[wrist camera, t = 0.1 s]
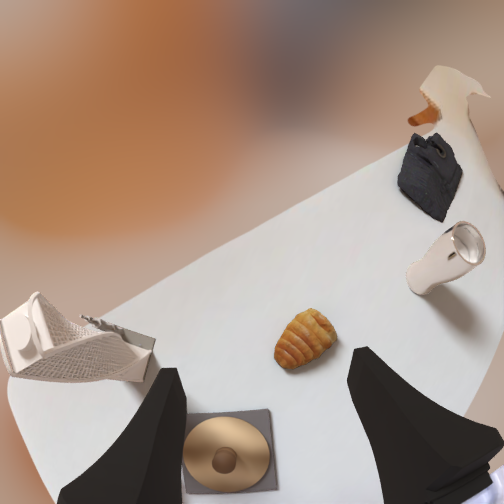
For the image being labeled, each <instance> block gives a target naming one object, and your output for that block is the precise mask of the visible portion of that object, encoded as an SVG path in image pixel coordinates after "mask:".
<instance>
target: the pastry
mask: <svg viewBox="0 0 504 504" xmlns="http://www.w3.org/2000/svg"><path fill="white" fill-rule="evenodd" d="M336 340H337V334H336V331H335V329H334V327H333V326H332V324H331V323H330V322H329V320H328V319H327V318H326V317H325V316H323V315H322V314H321V313H320V312H319V311H317V310H315V309H312V308H310V309H308V310H306V311H305V312H301V313H299V314H298V315H297V316H296V317H295V318H294V319H293V320H292V321H291V322H290V323H289V324H288V325H287V327H286V329H285V330H284V332H283V334H282V336H281V337H280V339H279V340H278V342H277V344H276V346H275V352H274V359H275V360H276V362H277V363H278V364H279V365H280V366H281V367H283V368H287V369H295V368H297V367H299V366H302V365H305V364H307V363H309V362H310V361H311V360H313V359H317V358H319V357H320V356H321V354H322V353H323V352H324V351H325V350H326V349H328V348H330V347H331V345H332V343H333V342H335V341H336Z"/></svg>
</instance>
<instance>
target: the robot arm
mask: <svg viewBox="0 0 504 504" xmlns="http://www.w3.org/2000/svg"><path fill="white" fill-rule="evenodd" d="M347 383H348V387H349V391H350V394H351V398H352V401H353V404H354V406H355V408H356V411H357V413H358V415H359V418H360V420H361V422H362V425H363V427H364V429H365V432H366V434H367V437H368V439H369V441H370V444H371V447H372V450H373V454H374V457H375V461H376V465H377V469H378V473H379V478H380V482H381V488H382V493H383V499H384V504H504V465H503V466H501V467H500V468H498V469H497V470H495V471H494V472H493V473H492V474H490V475H489V473H488V470H489V469H490V466H489V464H488V462H489V461H490V460H491V459H492V458H493V457H494V456H495V455H496V454H497V453H498V452H499V451H500V450H501V449H502V448H503V446H504V440H503V439H502V437H501V436H500V434H499V432H498V430H497V429H496V428H493V427H490V426H486V425H483V424H480V423H476V422H474V421H471V420H469V419H466V418H464V417H462V416H460V415H457V414H455V413H453V412H451V411H449V410H447V409H446V408H444V407H442V406H440V405H439V404H437V403H435V402H434V401H432V400H431V399H429V398H427V397H426V396H425V395H423V394H422V393H420V392H419V391H418V390H416V389H415V388H414V387H412V386H411V385H410V384H409V383H407V382H406V381H405V380H404V379H403V378H402V377H400V376H399V375H398V374H397V373H396V372H395V371H394V370H392V369H391V368H390V367H389V366H388V365H387V364H386V363H385V362H384V361H383V360H382V359H381V358H379V357H378V356H377V355H376V354H375V353H374V352H373V351H372V350H371V349H370V348H369V347H368V346H367V347H362V348H356V349H354V352H353V356H352V361H351V365H350V369H349V373H348V378H347ZM186 418H187V402H186V395H185V392H184V389H183V386H182V383H181V380H180V377H179V374H178V371H177V368H161V369H160V371H159V373H158V375H157V377H156V379H155V381H154V383H153V385H152V386H151V388H150V390H149V392H148V394H147V396H146V397H145V399H144V401H143V402H142V404H141V406H140V407H139V409H138V411H137V412H136V414H135V415H134V417H133V418H132V419H131V421H130V422H129V424H128V425H127V427H126V428H125V430H124V431H123V432H122V433H121V435H120V436H119V437H118V438H117V440H116V441H115V442H114V443H113V445H112V446H111V447H110V448H109V449H108V450H107V451H106V452H105V453H104V454H103V455H102V456H101V457H100V458H99V459H98V460H97V461H96V462H95V463H94V464H93V465H92V466H91V467H89V468H88V469H87V470H86V471H85V472H84V473H83V474H81V475H80V476H79V477H77V478H76V479H75V480H73V481H72V482H70V483H69V484H68V485H66V486H65V487H63V488H62V489H61V491H60V494H59V496H58V501H57V504H182V492H181V464H182V455H183V446H184V438H185V429H186Z"/></svg>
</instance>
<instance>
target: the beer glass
mask: <svg viewBox="0 0 504 504" xmlns="http://www.w3.org/2000/svg"><path fill="white" fill-rule="evenodd" d="M485 254H486V248H485V243H484V240H483V237H482V235H481V234H480V232H479V231H478V230H477V228H476V227H475V226H473V225H472V224H470V223H468V222H465V221H460V222H458V223H456V224H455V225H454V226H453V227H451V228H450V229H448V230H447V231H446V232H444V233H443V234H442V235H441V236H440V237H439V238H438V239H436V240H435V242H434V243H433V244H432V245H431V247H430V248H429V250H428V251H427V252H426V254H425V255H424V257H423V258H422V259H420V260H418V261H416V262H413V263H412V264H410V265H409V267H408V268H407V271H406V281H407V284H408V286H409V288H410V289H411V290H412V291H413V292H414V293H416V294H418V295H426V294H428V293H430V292H431V291H432V290H433V289H434V288H435V287H436V286H437V285H440V284H443V283H447V282H451V281H454V280H457V279H459V278H461V277H463V276H464V275H466V274H467V273H469V272H470V271H472V270H473V269H474V268H475V267H477V266H478V265H479V264H481V263H482V262H483V260H484V258H485Z"/></svg>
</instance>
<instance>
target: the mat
mask: <svg viewBox="0 0 504 504" xmlns="http://www.w3.org/2000/svg"><path fill="white" fill-rule="evenodd" d="M215 417H235V418H239V419H242V420H244V421H246V422H248V423H250V424H252V425H253V426H254V427H256V428H257V429H258V430H259V431H260V432H261V433H262V435H263V436H264V438H265V440H266V442H267V445H268V448H269V453H270V459H269V465H268V468H267V470H266V472H265V474H264V475H263V476H262V478H261V479H260V480H259V481H258V482H256V483H255V484H254V485H252V486H250V487H248V488H246V489H243V490H240V491H235V492H222V491H217V490H213V489H210V488H208V487H206V486H204V485H202V484H201V483H199V482H198V481H197V480H195V479H194V477H193V476H192V475H191V474H190V473H189V471H188V469H187V468H186V465H185V463H184V458H183V455H182V467H183V474H184V480H185V487H186V493H238V492H252V491H263V490H272V489H277V487H276V478H275V468H274V459H273V449H272V440H271V431H270V421H269V412H268V409H260V410H250V411H237V412H222V413H197V414H187V418H186V429H185V438H184V443H185V440H186V438H187V436H188V435H189V433H190V432H191V431H192V430H193V429H194V428H195V427H196V426H197V425H198V424H200V423H201V422H203V421H205V420H208V419H211V418H215ZM183 447H184V446H183Z"/></svg>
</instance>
